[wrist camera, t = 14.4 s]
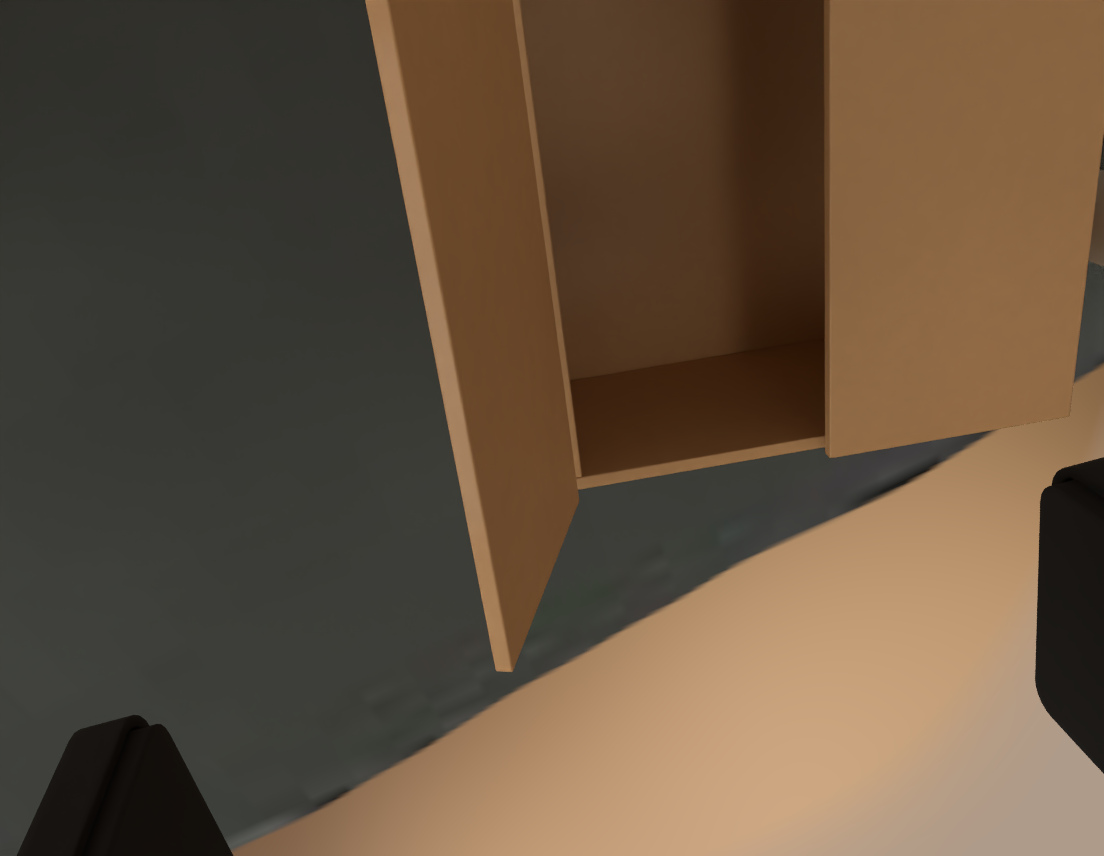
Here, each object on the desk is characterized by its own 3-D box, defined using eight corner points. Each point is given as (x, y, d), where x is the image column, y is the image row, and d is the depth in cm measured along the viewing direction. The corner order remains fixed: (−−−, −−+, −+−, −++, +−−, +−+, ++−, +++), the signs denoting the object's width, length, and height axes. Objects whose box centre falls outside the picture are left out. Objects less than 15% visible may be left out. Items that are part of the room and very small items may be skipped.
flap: (579, 501, 26) (566, 501, 26) (508, -35, 20) (491, -33, 20) (512, 673, 20) (495, 672, 20) (381, -35, 14) (358, -31, 14)
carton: (540, 390, 34) (574, 504, 26) (481, -23, 28) (501, -37, 20) (926, 326, 35) (1072, 418, 27) (945, -88, 29) (1139, -126, 21)
